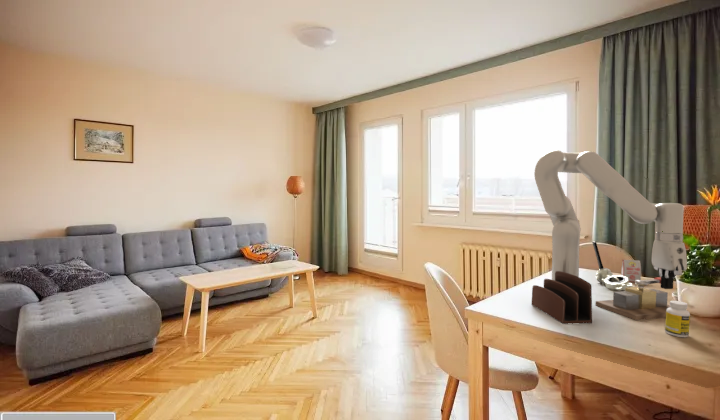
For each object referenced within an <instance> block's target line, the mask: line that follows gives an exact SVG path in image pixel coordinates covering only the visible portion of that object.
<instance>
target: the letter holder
mask: <svg viewBox="0 0 720 420" xmlns="http://www.w3.org/2000/svg"><path fill="white" fill-rule="evenodd" d="M592 287H593V286H592V284H591V283H590V282H588V281H587V280H585V279H583V278H581V277H577V276H575V275H572V274H569V273H566V272H561V271H556V272H555V280H552V278H551V279H549V278H544V280H543V286H539V285H533V286H532V289H531V290H532V291H531V305H532V306H533V307H535V308H537V309H538V310H539V311H541V310H542V311H541V312H543V313H545V314H546V313H547V314H546V315H549V316H550V317H551V318H553V319H555V320H556V321H558V322H560V323H561V324H562V325H569V324H568V323H572V324H573V323H579V324H592V322H593V311H592V310H593V308H592V307H593V298H592V294H593V293H592V290H593V289H592Z"/></svg>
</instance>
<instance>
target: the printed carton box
mask: <svg viewBox="0 0 720 420" xmlns="http://www.w3.org/2000/svg"><path fill="white" fill-rule="evenodd" d="M641 265H642V264H641V260H636V259H635V260H634V259H622V262H621V274H620V276H625V277H627V278H628V281H629V283H635V280H642V279H641V276H642V266H641Z"/></svg>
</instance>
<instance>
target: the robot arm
mask: <svg viewBox="0 0 720 420" xmlns="http://www.w3.org/2000/svg"><path fill="white" fill-rule="evenodd" d="M559 173H569V174H571V173H572V174H582V175H583V176H585V177H586V179H588V180H589V181H590V182H591V183H592V184H593V185H594V186H595V187H596V188H597V189H598V191H600V192H601V193H602V194H603V195H604V196H606V197H608V198H609V199H611V200H612V201H613V202H614V203H615V204H616V205H617V206H618V207H619V208H621V210H622V211H623V212H625V214H627V215H628V216H629V217H630V218H631V220H633V221H634V222H636V223H637V224H641V225H647V224H651V223H653V222H654V223H655V224H654V241H653V242H652V243H653V245H652V248H651V249H652V250H651V264H652V266H653V269H654V270H656V271H657V272H658V274H659V277H661V284H660V288H662V289H664V290H673V289H674V279H676V276H683V272H684V271H687V268H688V264H687V263H688V260H687V259H688V258H687V250H686V246H685V245H686V244H685V242H684V241H683V240H684V235H683V234H684V212H685V211H684V210H685V209H684V205H683V204H682V203H677V202H662V203H661V202H660V203H655V202H654V203H653V202H650V201H649V200H648V199H647V198H645V197H644V196H643V194H641V193H640V192H639V191H638V190H637V189H636V188H634V186H632V185H631V184H630V183H629V181H628V180H627V179H625V177H624V176H622V175H621V174H620V173H619V172H618V171H617V170H616V169H614V168H613V167H612V166H611V165H610V164H609V163H608V162H607V161H606V160H605V159H604V158H603V157H602V156H600V155H599V154H598V153H597V152H595V151H592V150H587V151H583V152H564V151H563V152H562V151H561V150H558V149H552V150H548V151H547V152H546V153H544V154H542V156H541V157H540V158H539V159H538V161H537V162H536V165H535V168H534V180H535V184H536V187H537V190H538V193H539V195H540V196H539V197H540V199H541V201H542V204H543V208H544V211H545V212H546V213H547V215H549V217H550V220H551V223H552V226H553V227H552V231H551V240H552V241H551V245H552V247H551V248H552V253H551V254H552V255H551V259H552V260H551V280H555V272H556V271H561V272H566V273H569V274H572V275H575V276H577V277H579V276H580V274H579V272H580V241H581V239H580V238H581V230H582V228H581V224H580V222H579V219H578V217H577V214H576V212H575V209H574V207H573V205H572V204H573V203H572V202H571V200H570V198H569V197H568V196H566V194H565V192H564V189H563V186H562V184H561V180H560V179H559V176H558V174H559ZM662 231H663V232H662ZM579 278H580V277H579Z"/></svg>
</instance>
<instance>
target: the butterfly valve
mask: <svg viewBox="0 0 720 420" xmlns="http://www.w3.org/2000/svg"><path fill="white" fill-rule="evenodd" d="M592 246H593V249H594V253H595V257H596V260H597V264H598V269H599V270H597V272H596V273H595V278H596V281H597V282H599V283H601V284H602V283H603V284H604V285H605V288H606V289H607V290H612V291H617V292H620V291H625V289H626V288H628V287H634V286H633V283H632V282H629V281H628V278H627V277H625V276H621V275H617V274H616V275H613V272H612V271H611V269H609V268H607V267H604V266H603V262H602V258H601V255H600V251H599V248H598V244H597V241H592Z"/></svg>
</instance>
